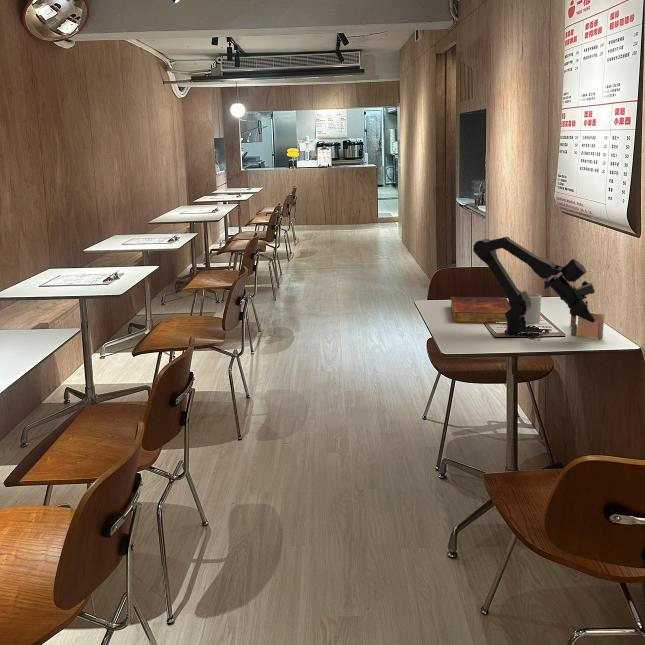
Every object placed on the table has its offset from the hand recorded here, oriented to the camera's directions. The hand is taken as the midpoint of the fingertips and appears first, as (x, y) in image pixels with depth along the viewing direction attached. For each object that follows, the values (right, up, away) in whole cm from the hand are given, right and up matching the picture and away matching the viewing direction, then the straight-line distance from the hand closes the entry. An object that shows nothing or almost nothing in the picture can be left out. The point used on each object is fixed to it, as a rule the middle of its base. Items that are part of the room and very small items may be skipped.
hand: (593, 321), depth 292 cm
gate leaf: (0, -5, +4) cm, 7 cm away
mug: (-15, 0, +32) cm, 35 cm away
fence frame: (-3, -3, +14) cm, 15 cm away
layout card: (-1, -5, +8) cm, 10 cm away
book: (-32, +2, +43) cm, 54 cm away
